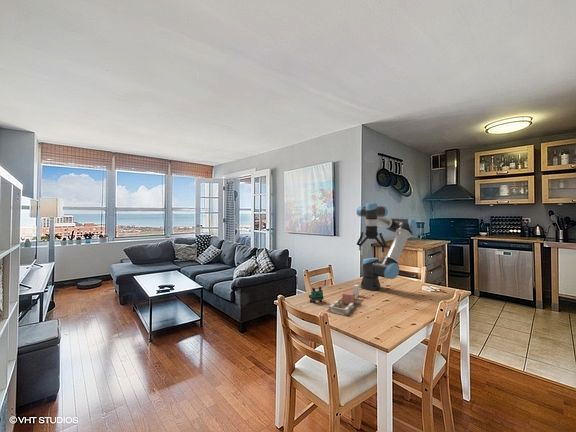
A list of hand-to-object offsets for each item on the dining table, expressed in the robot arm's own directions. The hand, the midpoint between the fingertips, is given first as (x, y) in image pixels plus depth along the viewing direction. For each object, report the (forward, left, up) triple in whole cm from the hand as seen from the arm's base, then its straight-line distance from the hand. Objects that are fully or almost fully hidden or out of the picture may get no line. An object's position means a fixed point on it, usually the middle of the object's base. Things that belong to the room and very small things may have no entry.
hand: (371, 256), depth 179 cm
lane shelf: (+27, -9, -29) cm, 40 cm away
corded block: (+15, -9, -28) cm, 33 cm away
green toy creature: (+29, -29, -29) cm, 50 cm away
